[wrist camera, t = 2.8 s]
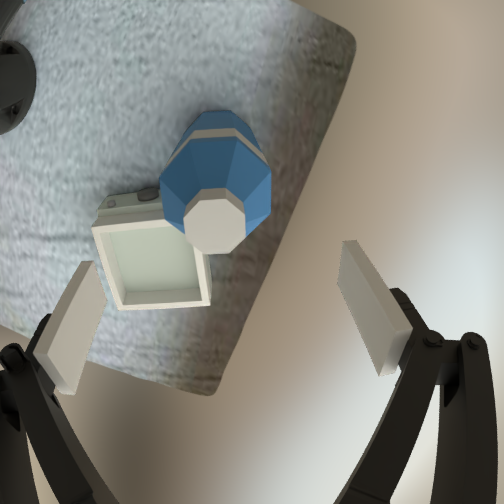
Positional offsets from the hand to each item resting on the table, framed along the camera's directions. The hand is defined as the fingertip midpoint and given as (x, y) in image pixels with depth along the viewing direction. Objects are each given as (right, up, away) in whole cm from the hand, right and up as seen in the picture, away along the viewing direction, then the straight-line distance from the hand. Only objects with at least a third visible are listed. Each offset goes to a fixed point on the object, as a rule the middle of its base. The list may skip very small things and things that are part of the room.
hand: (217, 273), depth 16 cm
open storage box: (-12, +3, +32) cm, 34 cm away
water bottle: (-3, +16, +25) cm, 30 cm away
